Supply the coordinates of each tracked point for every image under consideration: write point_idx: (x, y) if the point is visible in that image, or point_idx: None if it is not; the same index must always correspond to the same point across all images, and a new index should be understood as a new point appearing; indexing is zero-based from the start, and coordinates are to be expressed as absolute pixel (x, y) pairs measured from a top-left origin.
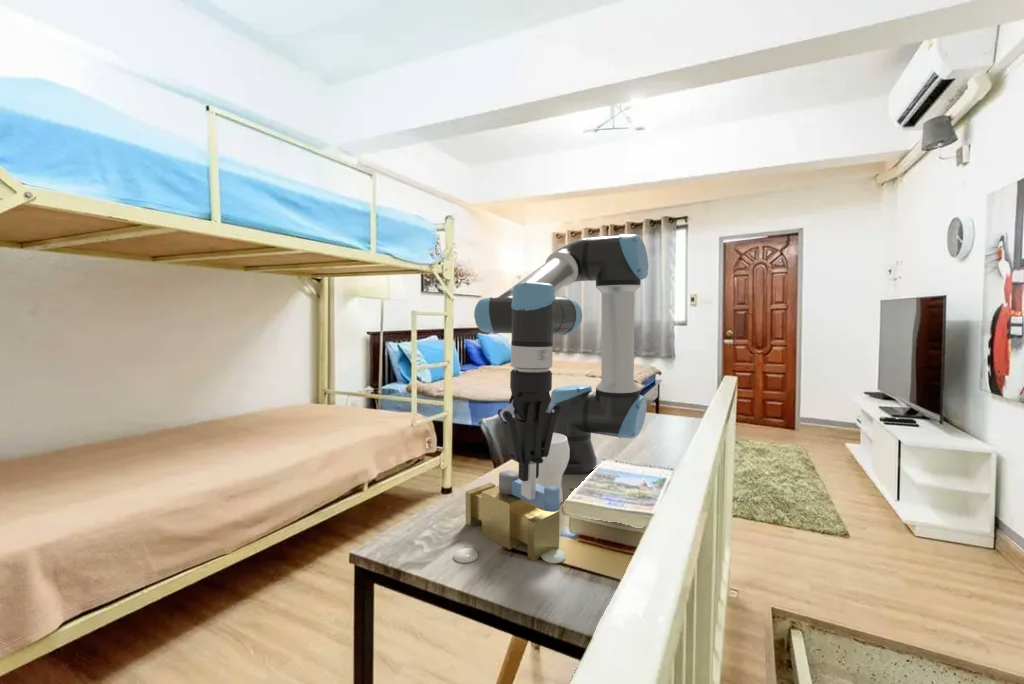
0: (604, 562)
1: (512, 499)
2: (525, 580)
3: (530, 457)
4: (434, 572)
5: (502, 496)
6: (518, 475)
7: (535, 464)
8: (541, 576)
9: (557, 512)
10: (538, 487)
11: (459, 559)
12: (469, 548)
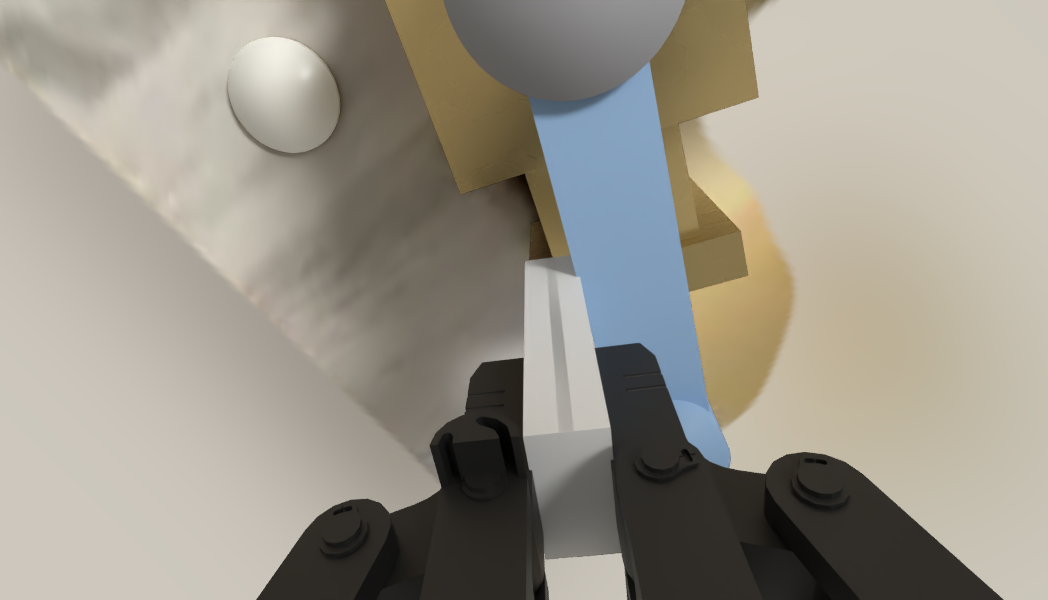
0: (760, 366)
1: (509, 136)
2: (458, 337)
3: (619, 505)
4: (146, 155)
5: (462, 47)
6: (470, 382)
7: (610, 545)
8: (517, 341)
9: (730, 277)
10: (648, 332)
11: (250, 124)
12: (308, 52)
